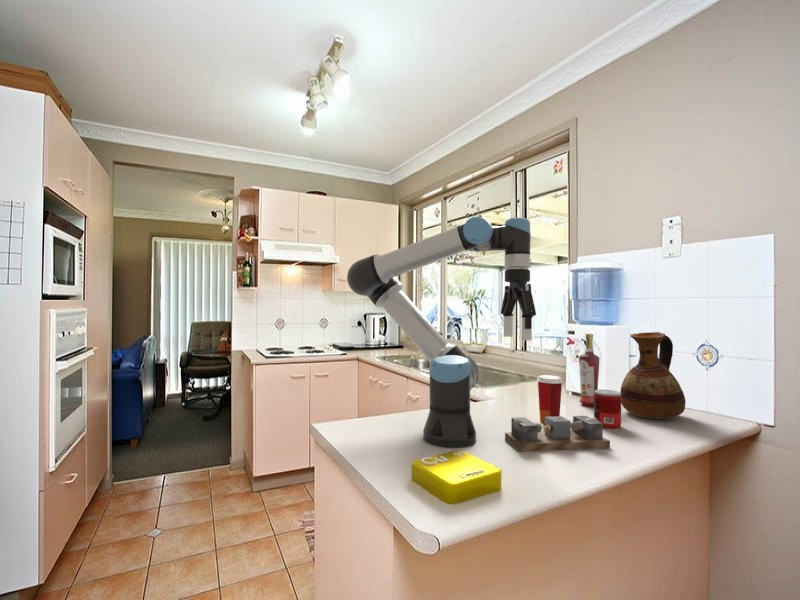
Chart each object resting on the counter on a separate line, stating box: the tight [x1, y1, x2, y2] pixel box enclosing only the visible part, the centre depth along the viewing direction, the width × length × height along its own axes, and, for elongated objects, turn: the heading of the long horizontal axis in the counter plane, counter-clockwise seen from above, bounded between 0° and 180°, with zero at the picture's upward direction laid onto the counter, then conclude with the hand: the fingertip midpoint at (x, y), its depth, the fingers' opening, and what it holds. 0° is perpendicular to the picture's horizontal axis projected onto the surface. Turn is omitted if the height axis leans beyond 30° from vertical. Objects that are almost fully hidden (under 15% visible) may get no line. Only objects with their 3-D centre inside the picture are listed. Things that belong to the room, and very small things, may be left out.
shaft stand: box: [504, 415, 611, 453], centre depth 116 cm, size 26×10×7 cm, turn 98°
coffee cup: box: [535, 374, 564, 424], centre depth 138 cm, size 8×8×15 cm
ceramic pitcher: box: [619, 331, 687, 419], centre depth 148 cm, size 20×20×30 cm
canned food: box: [593, 389, 622, 430], centre depth 135 cm, size 8×8×11 cm
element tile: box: [411, 449, 502, 505], centre depth 90 cm, size 15×15×5 cm
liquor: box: [578, 333, 601, 408], centre depth 162 cm, size 7×7×28 cm
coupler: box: [544, 415, 572, 440], centre depth 116 cm, size 7×5×5 cm
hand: (516, 338), depth 126 cm, fingers open, 13 cm apart
